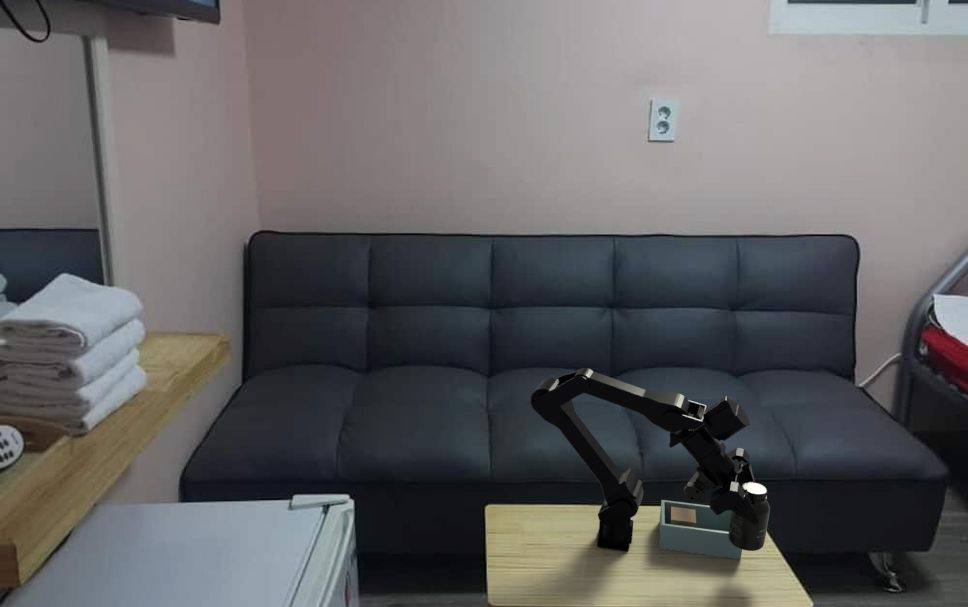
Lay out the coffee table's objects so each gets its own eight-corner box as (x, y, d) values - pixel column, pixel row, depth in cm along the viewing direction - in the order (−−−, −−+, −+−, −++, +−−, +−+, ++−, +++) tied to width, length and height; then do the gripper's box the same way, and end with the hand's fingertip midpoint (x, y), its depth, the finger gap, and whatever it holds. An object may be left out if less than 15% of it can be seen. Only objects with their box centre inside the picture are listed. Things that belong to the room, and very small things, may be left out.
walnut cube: (668, 540, 170) (671, 519, 168) (668, 526, 175) (671, 506, 173) (693, 543, 169) (696, 522, 167) (692, 530, 174) (695, 509, 172)
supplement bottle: (766, 554, 156) (775, 499, 152) (729, 549, 157) (737, 495, 153) (761, 534, 162) (769, 480, 159) (726, 529, 164) (733, 476, 160)
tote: (659, 548, 168) (661, 524, 166) (659, 522, 177) (661, 499, 176) (740, 559, 165) (744, 535, 164) (736, 532, 174) (739, 509, 173)
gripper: (679, 450, 169) (727, 508, 169) (665, 494, 153) (719, 558, 153) (723, 423, 164) (773, 482, 164) (714, 465, 148) (769, 532, 148)
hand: (757, 513), depth 157 cm, fingers closed on supplement bottle, 7 cm apart
